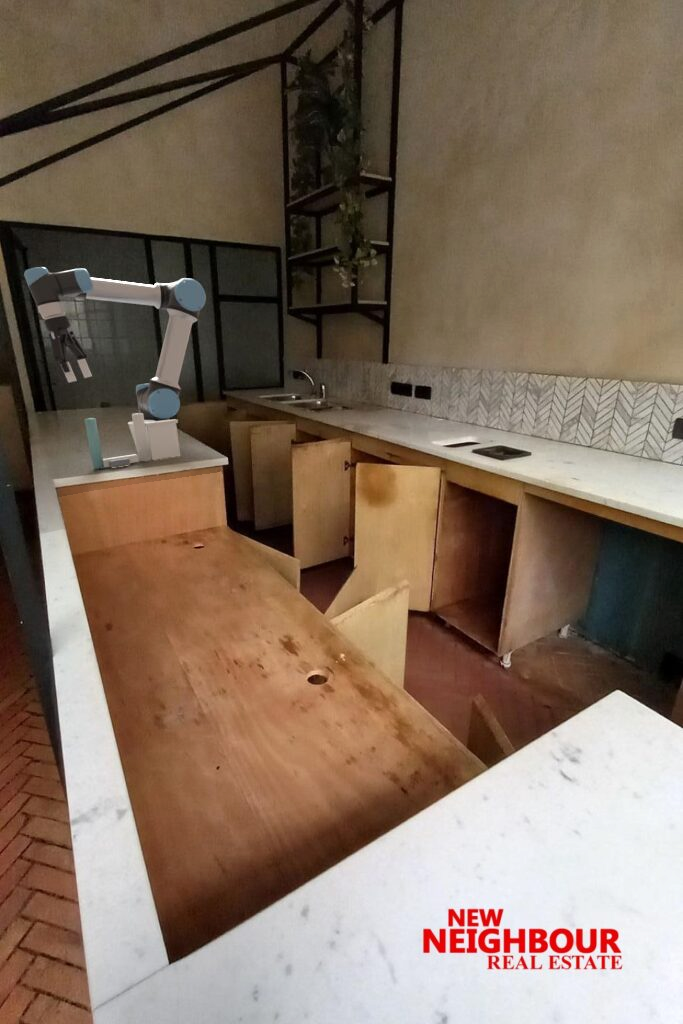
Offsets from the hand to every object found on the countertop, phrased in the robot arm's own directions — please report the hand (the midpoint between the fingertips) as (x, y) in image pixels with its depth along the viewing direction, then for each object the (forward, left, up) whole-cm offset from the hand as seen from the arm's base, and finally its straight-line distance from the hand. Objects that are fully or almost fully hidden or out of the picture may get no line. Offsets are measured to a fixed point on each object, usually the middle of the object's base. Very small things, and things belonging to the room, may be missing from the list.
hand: (80, 379), depth 178 cm
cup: (-16, +10, -27) cm, 33 cm away
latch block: (0, +31, -27) cm, 41 cm away
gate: (-1, +28, -27) cm, 39 cm away
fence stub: (-16, +28, -27) cm, 42 cm away
